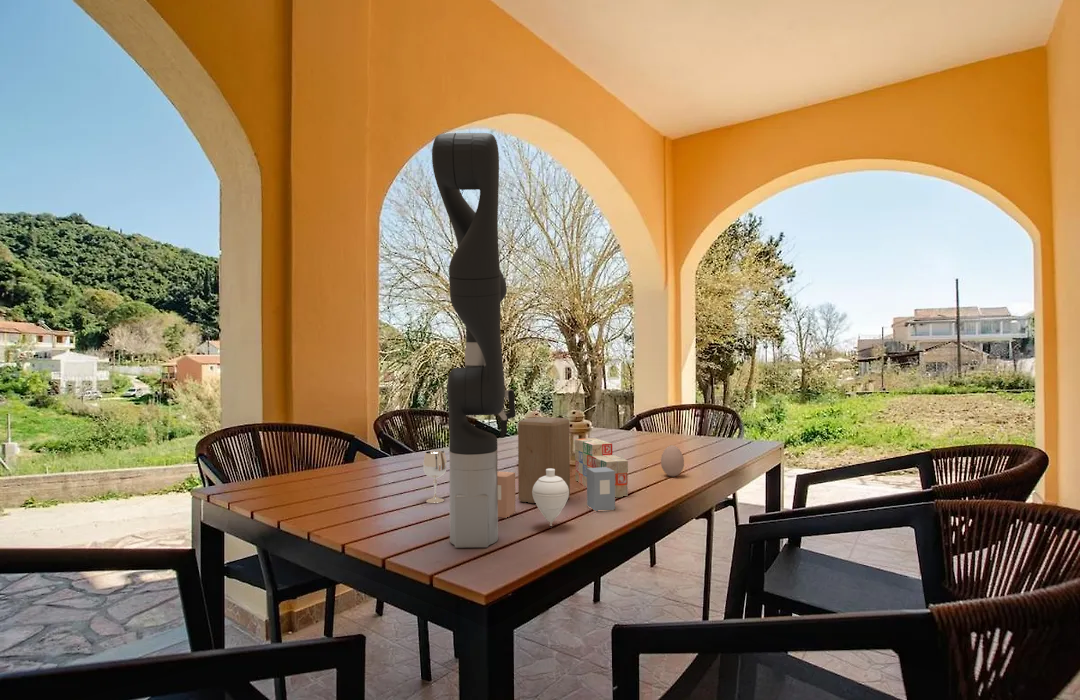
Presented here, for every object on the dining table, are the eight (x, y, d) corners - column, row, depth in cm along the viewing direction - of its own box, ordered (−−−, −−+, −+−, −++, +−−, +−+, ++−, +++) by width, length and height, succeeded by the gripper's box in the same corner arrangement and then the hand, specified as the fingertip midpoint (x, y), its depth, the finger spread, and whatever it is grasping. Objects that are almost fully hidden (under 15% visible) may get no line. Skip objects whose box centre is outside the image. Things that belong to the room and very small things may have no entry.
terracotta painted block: (506, 518, 121) (506, 477, 122) (486, 516, 123) (485, 475, 123) (515, 512, 126) (515, 472, 126) (495, 510, 128) (495, 471, 128)
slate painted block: (615, 510, 127) (614, 471, 127) (594, 512, 126) (594, 472, 126) (606, 504, 132) (606, 467, 132) (587, 506, 131) (586, 468, 131)
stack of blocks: (628, 497, 139) (628, 448, 140) (605, 499, 138) (605, 449, 138) (595, 479, 160) (594, 436, 160) (574, 481, 158) (574, 438, 158)
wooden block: (516, 502, 135) (516, 420, 135) (536, 493, 143) (535, 416, 144) (553, 507, 130) (553, 422, 130) (571, 497, 139) (570, 417, 139)
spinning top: (544, 519, 120) (543, 464, 120) (575, 524, 116) (575, 467, 116) (525, 529, 113) (524, 470, 114) (558, 535, 109) (557, 474, 110)
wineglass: (419, 503, 134) (419, 453, 135) (429, 497, 140) (429, 449, 140) (441, 504, 133) (441, 454, 133) (450, 498, 139) (450, 450, 139)
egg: (680, 473, 166) (680, 443, 166) (686, 478, 160) (686, 447, 160) (658, 474, 166) (658, 443, 166) (664, 479, 159) (663, 447, 160)
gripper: (447, 364, 116) (447, 441, 117) (515, 363, 117) (515, 440, 117) (451, 362, 124) (451, 434, 124) (515, 362, 125) (515, 434, 125)
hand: (482, 437), depth 121 cm, fingers open, 8 cm apart
